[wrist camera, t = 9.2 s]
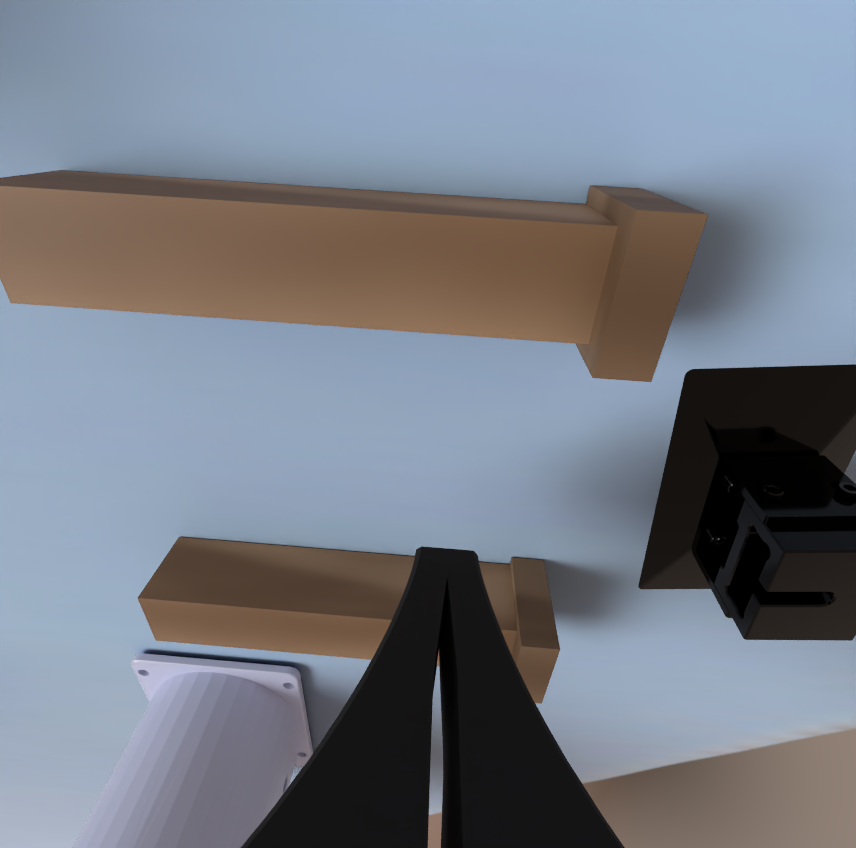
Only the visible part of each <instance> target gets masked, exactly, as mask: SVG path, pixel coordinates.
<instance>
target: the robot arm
mask: <svg viewBox="0 0 856 848" xmlns="http://www.w3.org/2000/svg"><path fill="white" fill-rule="evenodd" d="M438 652H439V664H440V689H441V712H442V736H443V803H442V833H441V848H624V846H623V845H622V843H621V842H620V841H619V839H618V838H617V836H616V835H615V833H614V832H613V830H612V829H611V827H610V826H609V825H608V823H607V822H606V820H605V819H604V817H603V816H602V814H601V813H600V811H599V810H598V808H597V807H596V805H595V803H594V802H593V800H592V799H591V797H590V796H589V794H588V792H587V791H586V789H585V788H584V786H583V784H582V783H581V781H580V780H579V778H578V777H577V775H576V773H575V772H574V770H573V769H572V767H571V766H570V764H569V762H568V761H567V759H566V758H565V756H564V754H563V753H562V751H561V749H560V747H559V746H558V744H557V742H556V740H555V739H554V737H553V735H552V733H551V732H550V730H549V728H548V726H547V725H546V723H545V721H544V719H543V717H542V715H541V714H540V712H539V710H538V708H537V706H536V704H535V702H534V700H533V698H532V697H531V695H530V693H529V691H528V689H527V687H526V685H525V683H524V681H523V678H522V676H521V674H520V672H519V670H518V668H517V666H516V663H515V661H514V659H513V657H512V655H511V652H510V650H509V648H508V646H507V643H506V641H505V638H504V636H503V633H502V631H501V628H500V626H499V624H498V621H497V619H496V616H495V613H494V611H493V608H492V605H491V602H490V599H489V596H488V593H487V590H486V587H485V584H484V581H483V577H482V574H481V570H480V565H479V561H478V555H477V554H476V553H475V552H474V551H469V550H457V549H444V548H432V547H420V548H418V549H417V550H416V554H415V559H414V563H413V567H412V570H411V573H410V576H409V579H408V582H407V585H406V588H405V590H404V593H403V595H402V598H401V600H400V602H399V605H398V607H397V609H396V612H395V614H394V616H393V618H392V621H391V623H390V625H389V627H388V629H387V631H386V633H385V635H384V637H383V639H382V641H381V643H380V645H379V647H378V649H377V651H376V653H375V654H374V656H373V658H372V660H371V662H370V664H369V666H368V668H367V669H366V671H365V673H364V675H363V676H362V678H361V680H360V682H359V683H358V685H357V687H356V688H355V690H354V692H353V693H352V695H351V697H350V698H349V700H348V701H347V703H346V705H345V706H344V708H343V710H342V711H341V713H340V714H339V716H338V717H337V719H336V720H335V722H334V723H333V725H332V726H331V728H330V729H329V731H328V732H327V734H326V735H325V737H324V738H323V740H322V741H321V743H320V744H319V746H318V747H317V749H316V750H315V751H314V753H313V749H312V743H311V737H310V731H309V725H308V719H307V713H306V707H305V701H304V695H303V689H302V683H301V677H300V673H299V671H298V670H297V669H295V668H293V667H289V666H278V665H267V664H256V663H244V662H233V661H222V660H211V659H200V658H189V657H178V656H166V655H155V654H144V653H140V654H137V655H135V657H134V658H133V660H132V661H131V666H132V668H133V670H134V672H135V674H136V676H137V678H138V680H139V682H140V684H141V686H142V688H143V690H144V692H145V694H146V696H147V698H148V700H149V702H150V703H149V705H148V707H147V709H146V711H145V712H144V714H143V716H142V718H141V720H140V722H139V724H138V725H137V727H136V729H135V731H134V733H133V735H132V737H131V739H130V740H129V742H128V744H127V746H126V748H125V750H124V752H123V753H122V755H121V757H120V759H119V761H118V763H117V765H116V766H115V768H114V770H113V772H112V774H111V776H110V778H109V779H108V781H107V783H106V785H105V787H104V789H103V791H102V792H101V794H100V796H99V798H98V800H97V802H96V804H95V806H94V807H93V809H92V811H91V813H90V815H89V817H88V819H87V820H86V822H85V824H84V826H83V828H82V830H81V832H80V833H79V835H78V837H77V839H76V841H75V843H74V845H73V846H72V848H427V846H428V815H429V783H430V754H431V725H432V699H433V690H434V682H435V675H436V667H437V660H438ZM294 766H303V768H302V769H301V771H300V772H299V773H298V775H297V776H296V777H295V779H294V780H293V782H292V783H291V784H290V780H291V776H292V772H293V769H294ZM289 784H290V786H289Z"/></svg>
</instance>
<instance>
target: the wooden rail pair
mask: <svg viewBox="0 0 856 848" xmlns="http://www.w3.org/2000/svg"><path fill="white" fill-rule="evenodd" d="M707 217H708V214H705V213H703V212H700V211H698V210H695V209H692V208H690V207H687V206H685V205H682V204H680V203H677V202H674V201H672V200H669V199H667V198H664V197H662V196H659V195H656V194H654V193H651V192H649V191H646V190H644V189H638V188H622V187H607V186H591V185H590V187H589V192H588V196H587V201H586V204H577V203H562V202H546V201H531V200H515V199H499V198H484V197H468V196H453V195H437V194H422V193H406V192H391V191H375V190H359V189H344V188H328V187H313V186H297V185H282V184H266V183H251V182H235V181H220V180H204V179H188V178H173V177H157V176H142V175H126V174H111V173H95V172H80V171H64V170H59V171H51V172H43V173H35V174H27V175H19V176H12V177H4V178H0V279H1V281H2V284H3V286H4V288H5V291H6V293H7V295H8V298H9V300H10V302H11V303H18V304H32V305H46V306H60V307H74V308H88V309H102V310H116V311H130V312H144V313H158V314H172V315H185V316H199V317H213V318H227V319H241V320H255V321H269V322H283V323H297V324H311V325H325V326H339V327H353V328H367V329H381V330H395V331H409V332H423V333H437V334H451V335H465V336H479V337H493V338H507V339H521V340H535V341H549V342H563V343H575V344H576V346H577V348H578V350H579V352H580V354H581V356H582V358H583V360H584V362H585V364H586V366H587V368H588V370H589V372H590V374H591V376H592V378H603V379H617V380H631V381H644V382H651V381H652V378H653V375H654V372H655V369H656V366H657V363H658V360H659V358H660V355H661V352H662V349H663V346H664V343H665V340H666V337H667V334H668V331H669V328H670V325H671V322H672V319H673V316H674V313H675V311H676V308H677V305H678V302H679V299H680V296H681V293H682V290H683V287H684V284H685V281H686V278H687V275H688V272H689V269H690V267H691V264H692V261H693V258H694V255H695V252H696V249H697V246H698V243H699V240H700V237H701V234H702V231H703V228H704V225H705V222H706V220H707ZM414 559H415V557H413V556H401V555H389V554H377V553H364V552H352V551H340V550H328V549H316V548H304V547H292V546H280V545H268V544H256V543H244V542H232V541H220V540H208V539H196V538H184V537H179V538H178V539H177V541H176V542H175V544H174V545H173V547H172V548H171V550H170V551H169V553H168V554H167V556H166V557H165V559H164V560H163V561H162V563H161V564H160V566H159V567H158V569H157V570H156V572H155V573H154V575H153V576H152V578H151V579H150V581H149V582H148V584H147V585H146V586H145V588H144V589H143V591H142V592H141V594H140V595H139V597H138V600H139V602H140V605H141V607H142V609H143V612H144V614H145V616H146V619H147V621H148V623H149V626H150V628H151V630H152V633H153V635H154V637H155V640H157V641H168V642H180V643H191V644H202V645H213V646H225V647H236V648H247V649H258V650H270V651H281V652H292V653H303V654H315V655H326V656H337V657H348V658H360V659H371V660H372V658H373V656H374V654H375V653H376V651H377V649H378V647H379V645H380V643H381V641H382V639H383V637H384V635H385V633H386V631H387V629H388V627H389V625H390V623H391V621H392V618H393V616H394V614H395V612H396V609H397V607H398V605H399V602H400V600H401V598H402V595H403V593H404V590H405V588H406V585H407V582H408V579H409V576H410V573H411V570H412V567H413V563H414ZM479 565H480V570H481V574H482V577H483V581H484V584H485V587H486V590H487V593H488V596H489V599H490V602H491V605H492V608H493V611H494V613H495V616H496V619H497V621H498V624H499V626H500V628H501V631H502V633H503V636H504V638H505V641H506V643H507V646H508V648H509V650H510V652H511V655H512V657H513V659H514V661H515V663H516V666H517V668H518V670H519V672H520V674H521V676H522V678H523V681H524V683H525V685H526V687H527V689H528V691H529V693H530V695H531V697H532V698H533V700H534V702H535V703H542V701H543V698H544V695H545V692H546V689H547V686H548V683H549V680H550V677H551V675H552V672H553V669H554V666H555V663H556V660H557V657H558V654H559V651H560V647H559V641H558V636H557V630H556V625H555V620H554V614H553V609H552V603H551V598H550V592H549V587H548V581H547V576H546V570H545V565H544V560H537V559H525V558H513V557H512V558H511V563H510V565H509V564H497V563H485V562H479ZM437 665H438V666H440V664H439V652H438V660H437Z"/></svg>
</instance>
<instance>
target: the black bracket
mask: <svg viewBox="0 0 856 848" xmlns="http://www.w3.org/2000/svg"><path fill="white" fill-rule="evenodd" d="M855 450H856V365H823V366H788V367H753V368H718V369H692V370H690V371H688V372H687V373H686V374H685V377H684V382H683V387H682V391H681V396H680V400H679V405H678V409H677V414H676V418H675V423H674V427H673V432H672V436H671V441H670V445H669V450H668V455H667V459H666V464H665V468H664V473H663V477H662V482H661V486H660V491H659V495H658V500H657V504H656V509H655V514H654V518H653V523H652V527H651V532H650V536H649V541H648V545H647V550H646V554H645V559H644V563H643V568H642V573H641V577H640V582H639V588H640V589H711V590H712V592H713V593H714V595H715V597H716V599H717V601H718V603H719V605H720V607H721V609H722V610H723V612H724V614H725V616H726V617H728V618H733V620H734V622H735V623H736V625H737V627H738V629H739V631H740V633H741V635H742V636H743V638H744V639H746V640H853V638H854V637H855V635H856V484H855V483H854V482H853V481H851V480H850V479H849V478H848V477H847V476H846V475H845V474H844V472H845V470H846V468H847V466H848V464H849V462H850V460H851V458H852V456H853V454H854V452H855Z"/></svg>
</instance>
